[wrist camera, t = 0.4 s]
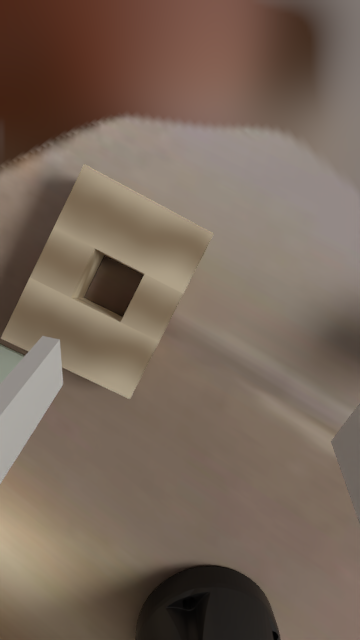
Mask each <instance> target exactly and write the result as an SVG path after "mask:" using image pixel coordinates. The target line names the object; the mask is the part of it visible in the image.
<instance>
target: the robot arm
mask: <svg viewBox="0 0 360 640" xmlns="http://www.w3.org/2000/svg"><path fill="white" fill-rule="evenodd" d="M62 385H63V375H62V362H61V348H60V339H55V338H51V337H46V336H42V337H41V338H40V339H39V340H38V342H37V343H36V344H35V345H34V346H33V347H32V348H31V350H30V351H29V352H28V353H27V354H26V355H25V356H24V357H23V359H22V360H21V361H20V362H19V363H18V364H17V365H16V367H15V368H14V369H13V370H12V371H11V372H10V373H9V374H8V376H7V377H6V378H5V379H4V380H3V381H2V382H1V384H0V484H1V482H2V480H3V479H4V477H5V476H6V474H7V472H8V471H9V469H10V468H11V466H12V464H13V463H14V461H15V460H16V458H17V457H18V455H19V453H20V452H21V450H22V449H23V447H24V445H25V444H26V442H27V441H28V439H29V438H30V436H31V434H32V433H33V431H34V430H35V428H36V426H37V425H38V423H39V422H40V420H41V419H42V417H43V415H44V414H45V412H46V411H47V409H48V407H49V406H50V404H51V403H52V401H53V400H54V398H55V396H56V395H57V393H58V392H59V390H60V388H61V387H62ZM331 443H332V446H333V449H334V452H335V454H336V457H337V460H338V463H339V466H340V469H341V472H342V475H343V477H344V480H345V483H346V486H347V489H348V492H349V495H350V497H351V500H352V503H353V506H354V509H355V512H356V515H357V517H358V520H359V523H360V404H359V405H358V406H357V408H356V409H355V410H354V412H353V413H352V414H351V415H350V417H349V418H348V419H347V421H346V422H345V423H344V425H343V426H342V427H341V429H340V430H339V431H338V433H337V434H336V435H335V437H334V438H333V439H332V441H331ZM135 640H281V639H280V634H279V630H278V626H277V623H276V620H275V617H274V614H273V611H272V608H271V606H270V603H269V601H268V599H267V597H266V596H265V594H264V592H263V591H262V590H261V589H260V588H259V586H258V585H257V584H256V583H254V582H253V581H252V580H251V579H249V578H248V577H246V576H245V575H243V574H241V573H239V572H236V571H234V570H231V569H227V568H222V567H198V568H193V569H189V570H186V571H183V572H180V573H178V574H176V575H174V576H172V577H171V578H169V579H167V580H166V581H164V582H163V583H162V584H161V585H159V586H158V587H157V588H156V589H155V590H154V591H153V592H152V594H151V595H150V596H149V598H148V599H147V600H146V602H145V604H144V605H143V608H142V610H141V612H140V615H139V618H138V622H137V628H136V639H135Z"/></svg>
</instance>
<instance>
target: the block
mask: <svg viewBox="0 0 360 640" xmlns="http://www.w3.org/2000/svg"><path fill="white" fill-rule="evenodd" d="M213 234H214V233H212V232H210V231H208V230H206V229H204V228H202V227H201V226H199V225H197V224H195V223H193V222H191V221H189V220H188V219H186V218H184V217H182V216H180V215H178V214H176V213H174V212H173V211H171V210H169V209H167V208H165V207H163V206H161V205H160V204H158V203H156V202H154V201H152V200H150V199H148V198H147V197H145V196H143V195H141V194H139V193H137V192H135V191H134V190H132V189H130V188H128V187H126V186H124V185H122V184H120V183H119V182H117V181H115V180H113V179H111V178H109V177H107V176H106V175H104V174H102V173H100V172H98V171H96V170H94V169H93V168H91V167H89V166H87V165H85V164H84V165H83V167H82V170H81V172H80V174H79V176H78V178H77V180H76V182H75V184H74V186H73V188H72V190H71V192H70V195H69V197H68V199H67V201H66V203H65V205H64V207H63V209H62V211H61V213H60V215H59V218H58V220H57V222H56V224H55V226H54V228H53V230H52V232H51V234H50V236H49V238H48V241H47V243H46V245H45V247H44V249H43V251H42V253H41V255H40V257H39V259H38V261H37V263H36V266H35V268H34V270H33V272H32V274H31V276H30V278H29V280H28V282H27V284H26V286H25V289H24V291H23V293H22V295H21V297H20V299H19V301H18V303H17V305H16V307H15V309H14V311H13V314H12V316H11V318H10V320H9V322H8V324H7V326H6V328H5V330H4V332H3V334H2V337H1V339H3V340H5V341H7V342H9V343H12V344H14V345H16V346H18V347H20V348H22V349H24V350H26V351H28V352H29V351H30V350H31V348H32V347H33V346H34V345H35V344H36V343H37V342H38V340H39V339H40V338H41V337H42V336H46V337H51V338H55V339H60V348H61V362H62V368H65V369H67V370H69V371H71V372H73V373H75V374H77V375H79V376H82V377H84V378H86V379H88V380H90V381H92V382H94V383H96V384H98V385H101V386H103V387H105V388H107V389H109V390H111V391H113V392H115V393H118V394H120V395H122V396H124V397H126V398H128V399H130V398H131V396H132V394H133V392H134V390H135V388H136V386H137V384H138V382H139V380H140V378H141V376H142V374H143V372H144V370H145V369H146V367H147V365H148V363H149V361H150V359H151V357H152V355H153V353H154V351H155V349H156V347H157V345H158V343H159V341H160V339H161V337H162V335H163V333H164V331H165V329H166V327H167V325H168V323H169V321H170V319H171V317H172V315H173V313H174V311H175V309H176V307H177V305H178V303H179V301H180V300H181V298H182V296H183V294H184V292H185V290H186V288H187V286H188V284H189V282H190V280H191V278H192V276H193V274H194V272H195V270H196V268H197V266H198V264H199V262H200V260H201V258H202V256H203V254H204V252H205V250H206V248H207V246H208V244H209V242H210V240H211V238H212V236H213ZM104 255H105V256H107V257H109V258H111V259H113V260H115V261H117V262H119V263H121V264H123V265H125V266H127V267H129V268H131V269H133V270H135V271H136V272H138V273H140V274H142V275H144V276H143V278H142V280H141V282H140V284H139V286H138V288H137V290H136V292H135V294H134V296H133V298H132V300H131V302H130V304H129V306H128V308H127V310H126V312H125V314H124V316H123V317H122V316H120V315H118V314H116V313H114V312H112V311H110V310H108V309H106V308H104V307H102V306H100V305H98V304H96V303H94V302H92V301H90V300H88V299H86V298H84V296H85V294H86V292H87V290H88V288H89V286H90V284H91V282H92V280H93V278H94V276H95V274H96V272H97V270H98V268H99V266H100V263H101V261H102V259H103V257H104Z"/></svg>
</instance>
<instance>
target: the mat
mask: <svg viewBox="0 0 360 640" xmlns="http://www.w3.org/2000/svg"><path fill="white" fill-rule="evenodd" d="M24 356H25V355H23V354H20V353H18V352H16V351H14V350H12V349H10V348H8V347H5V346H3V345H1V344H0V384H1V382H2V381H3V380H4V379H5V378H6V377H7V376H8V374H9V373H10V372H11V371H12V370H13V369H14V368H15V367H16V365H17V364H18V363H19V362H20V361H21V360H22V359H23V357H24Z"/></svg>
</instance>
